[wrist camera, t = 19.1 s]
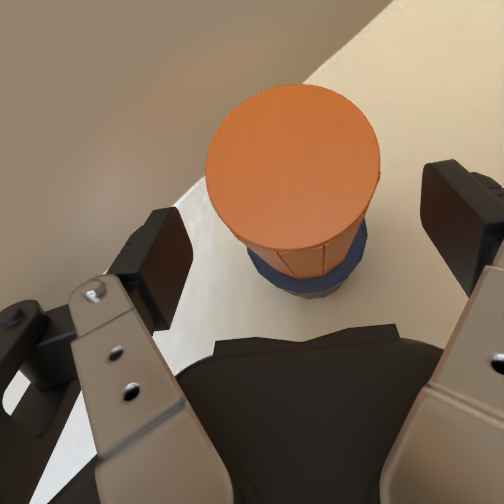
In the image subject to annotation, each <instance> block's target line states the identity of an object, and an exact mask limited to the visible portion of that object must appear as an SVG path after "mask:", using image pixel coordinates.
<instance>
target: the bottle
mask: <svg viewBox="0 0 504 504" xmlns="http://www.w3.org/2000/svg"><path fill="white" fill-rule="evenodd" d="M367 235H368V234H367V229H366V223H365V217H364V218H363V220H362V222H361V225H360V227H359V229H358V231H357V233H356V235H355V237H354V239H353V242H352V244H351V246H350V248H349V250H348V252H347V254H346V256H345V259H344V260H343V262H342V263H340V264H339V265H338V266H336V267H335V268H334V269H332V270H331V271H330V272H328V273H327V274H326V275H324V276H323V275H322V277H315V278H307V279H295V278H293V277H291V276H288V275H286V274H283V273H281V272H279V271H276V270H275V269H274V268H273V267H271V266H270V265H269V264H268V263H267V262H265V261H264V260H263V259H262V258H261V257H259V256H258V255H257V254H256V253H255V252H253V251H252V250H251V249H250V248H248V247H247V252H248V254H249V256H250V258H251V260H252V262H253V263H254V265H255V267H256V269H257V271H258V272H259V273H260V274H261V275H262V276H264V277H265V278H266V279H267V280H269V281H270V282H271V283H272V284H274V285H275V286H276V287H278V288H280V289H282V290H284V291H287V292H289V293H291V294H293V295H296V296H300V297H303V298H307V299H312V298H320V297H325V296H326V295H328V294H330V293H332V292H334V291H335V290H337V289H338V288H339V287H340V286H341V284H342V283H343V282H344V281H345V280H346V279H347V277H348V276H349V275H350V274H351V272H352V271H353V270H354V268H355V267H356V266H357V264H358V263H359V262H360V261H361V259H362V256H363V252H364V248H365V244H366V240H367Z"/></svg>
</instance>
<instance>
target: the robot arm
mask: <svg viewBox="0 0 504 504" xmlns="http://www.w3.org/2000/svg"><path fill="white" fill-rule="evenodd" d="M420 217H421V222H422V226H423V228H424V230H425V231H426V233H427V235H428V236H429V238H430V239H431V241H432V242H433V244H434V245H435V247H436V248H437V250H438V251H439V253H440V254H441V256H442V258H443V259H444V261H445V262H446V264H447V265H448V267H449V268H450V270H451V271H452V273H453V274H454V276H455V277H456V279H457V281H458V282H459V284H460V285H461V287H462V288H463V290H464V291H465V293H466V294H467V296H468V297H469V300H468V302H467V304H466V306H465V308H464V311H463V313H462V315H461V317H460V319H459V321H458V323H457V325H456V327H455V329H454V331H453V333H452V335H451V337H450V340H449V342H448V344H447V346H446V348H445V350H443V349H441V348H438V347H436V346H433V345H430V344H427V343H424V342H420V341H416V340H411V339H405V338H400V336H399V333H398V330H397V327H396V325H395V324H386V325H375V326H365V327H355V328H347V329H343V330H340V331H337V332H334V333H331V334H327V335H324V336H321V337H318V338H314V339H311V340H308V341H304V342H295V341H286V340H278V339H270V338H261V337H251V338H241V339H230V340H220V341H215V346H214V352H213V355H211V356H208V357H206V358H203V359H201V360H199V361H197V362H195V363H193V364H191V365H190V366H188V367H187V368H185V369H184V370H182V371H181V372H180V373H178V374H177V375H176V376H175V377H174V375H173V374H172V372H171V370H170V368H169V367H168V365H167V363H166V361H165V359H164V358H163V356H162V354H161V352H160V351H159V349H158V347H157V345H156V344H155V342H154V340H153V338H152V336H153V333H154V331H162V330H169V329H170V326H171V323H172V320H173V317H174V315H175V312H176V309H177V306H178V303H179V300H180V297H181V294H182V291H183V288H184V285H185V282H186V279H187V276H188V273H189V270H190V267H191V264H192V261H193V248H192V244H191V242H190V239H189V236H188V234H187V231H186V228H185V226H184V223H183V221H182V218H181V215H180V213H179V211H178V209H177V208H176V207H169V208H163V209H157V210H153V211H152V213H151V214H150V216H149V217H148V219H147V221H146V222H145V224H144V225H143V226H141V227H140V228H139V229H138V230H136V231H135V232H134V233H133V234H132V235H131V236H130V237H129V239H128V241H127V242H126V243H125V246H124V247H123V248H122V250H121V252H120V254H118V256H117V257H116V259H115V260H114V262H113V264H112V265H111V267H110V268H109V270H108V271H107V273H106V274H104V275H100V276H96V277H94V278H91V279H89V280H87V281H86V282H84V283H82V284H81V285H80V286H78V287H77V288H76V289H75V290H74V291H73V292H72V294H71V295H70V297H69V300H68V304H66V305H63V306H60V307H58V308H55V309H52V310H49V311H46V312H45V311H44V309H43V308H42V307H41V306H40V304H39V303H38V302H37V301H36V300H25V301H21V302H18V303H15V304H13V305H11V306H9V307H7V308H6V309H4V310H2V311H1V312H0V504H29V502H30V500H31V498H32V496H33V494H34V491H35V489H36V487H37V485H38V483H39V481H40V478H41V476H42V474H43V472H44V470H45V467H46V465H47V463H48V461H49V459H50V457H51V454H52V452H53V450H54V448H55V446H56V444H57V441H58V439H59V437H60V435H61V433H62V430H63V428H64V426H65V424H66V422H67V420H68V417H69V415H70V413H71V411H72V409H73V406H74V404H75V402H76V400H77V398H78V396H79V393H80V391H81V389H82V393H83V397H84V402H85V406H86V410H87V414H88V418H89V422H90V426H91V430H92V434H93V438H94V442H95V447H96V451H97V454H96V455H95V456H94V457H93V458H92V459H91V460H90V461H89V462H88V463H87V464H86V465H85V466H84V467H83V468H82V469H81V470H80V471H79V472H78V473H77V474H76V475H75V476H74V477H73V478H72V479H71V480H70V481H69V482H68V483H67V484H66V485H65V486H64V487H63V488H62V489H61V490H60V491H59V492H58V493H57V494H56V495H55V496H54V497H53V498H52V499H51V500H50V501H49V502H48V503H47V504H504V188H502V186H501V185H499V184H498V183H497V182H496V181H494V180H493V179H492V178H490V177H487V176H485V175H482V174H479V173H476V172H471V173H469V172H468V171H467V170H466V169H465V168H464V167H463V166H461V165H460V164H459V163H458V162H457V161H456V160H454V159H451V160H445V161H439V162H433V163H428V164H425V166H424V168H423V174H422V189H421V204H420ZM18 370H20V371H21V372H22V373H23V374H24V376H25V377H26V378H27V379H28V380H29V381H30V382H31V383H30V385H29V386H28V388H27V390H26V391H25V393H24V395H23V396H22V398H21V400H20V401H19V403H18V405H17V406H16V408H15V410H14V411H13V413H12V415H11V416H10V415H9V414H7V413H6V412H5V410H4V408H3V404H2V400H3V395H4V392H5V390H6V388H7V387H8V385H9V384H10V382H11V381H12V379H13V378H14V376H15V375H16V373H17V372H18Z"/></svg>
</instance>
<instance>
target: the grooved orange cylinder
mask: <svg viewBox="0 0 504 504" xmlns="http://www.w3.org/2000/svg"><path fill="white" fill-rule="evenodd" d="M205 172H206V173H205V174H206V185H207V191H208V194H209V197H210V200H211V203H212V205H213V207H214V209H215V211H216V212H217V214H218V215H219V217H220V218H221V220H222V221H223V222H224V223H225V224H226V225H227V226H228V228H229V229H230V230H231V232H232V233H233V234H234V236H235V237H236V238H238V239H239V240H240V241H241V242H242V243H244V244H245V245H246V246H247V247H248V248H250V249H251V250H252V251H253V252H255V253H256V254H257V255H258V256H259V257H261V258H262V259H263V260H264V261H265V262H267V263H268V264H269V265H270V266H271V267H273V268H274V269H275V270H276V271H279V272H281V273H283V274H286V275H288V276H291V277H293V278H295V279H307V278H315V277H322V275H323V276H324V275H326V274H327V273H328V272H330V271H331V270H332V269H334V268H335V267H336V266H338V265H339V264H340V263H342V262H343V260H344V259H345V256H346V254H347V252H348V250H349V248H350V246H351V244H352V242H353V239H354V237H355V235H356V233H357V231H358V229H359V227H360V225H361V222H362V220H363V218H364V216H365V213H366V211H367V209H368V206H369V204H370V201H371V199H372V196H373V194H374V192H375V189H376V186H377V184H378V182H379V179H380V152H379V146H378V142H377V138H376V135H375V133H374V131H373V128H372V126H371V125H370V123H369V121H368V120H367V118H366V117H365V116H364V114H363V113H362V112H361V111H360V110H359V108H357V107H356V106H355V105H354V104H353V103H352V102H351V101H349V100H348V99H346V98H345V97H343V96H342V95H340V94H338V93H336V92H334V91H332V90H329V89H326V88H323V87H319V86H313V85H305V84H294V85H293V84H292V85H284V86H278V87H274V88H271V89H267V90H265V91H262V92H260V93H258V94H256V95H254V96H252V97H250V98H249V99H247V100H245V101H244V102H243V103H241V104H240V105H239V106H237V108H235V109H234V110H233V111H232V112H231V113H230V114H229V115H228V116H227V118H226V119H225V120H224V121H223V122H222V124H221V125H220V127H219V128H218V130H217V132H216V133H215V136H214V137H213V140H212V142H211V145H210V147H209V151H208V155H207V159H206V168H205Z"/></svg>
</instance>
